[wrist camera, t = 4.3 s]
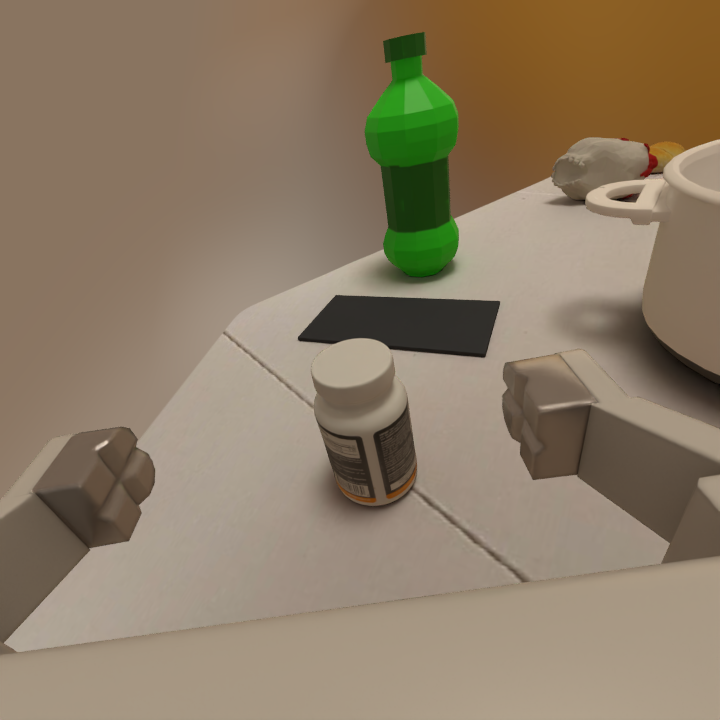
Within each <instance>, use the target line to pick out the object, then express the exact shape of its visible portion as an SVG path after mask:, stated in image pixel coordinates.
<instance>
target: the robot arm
mask: <svg viewBox="0 0 720 720" xmlns="http://www.w3.org/2000/svg"><path fill="white" fill-rule="evenodd" d="M503 380H504V382H505V383H506V385H507V387H508V389H507V390H506V391H505V393H504V394H503V395H502V408H503V413H504V419H505V423H506V425H507V428H508V431H509V433H510V435H511V437H512V438H513V439H514V440H516V441H518V442H519V443H521V446H520V455H521V457H522V459H523V461H524V463H525V465H526V467H527V469H528V471H529V473H530V475H531V477H532V479H533V480H537V479H545V478H553V477H561V476H569V475H577V474H578V475H577V477H579V478H580V479H581V480H583V481H584V482H586V483H587V484H588V485H590V486H591V487H592V488H594V489H595V490H597V491H598V492H599V493H601V494H602V495H604V496H605V497H606V498H608V499H609V500H611V501H612V502H613V503H615V504H616V505H618V506H619V507H620V508H622V509H623V510H625V511H626V512H627V513H629V514H630V515H631V516H633V517H634V518H636V519H637V520H638V521H640V522H641V523H643V524H644V525H645V526H647V527H648V528H650V529H651V530H652V531H654V532H655V533H657V534H658V535H659V536H661V537H662V538H664V539H665V540H666V541H668V542H669V543H670V545H669V547H668V549H667V552H666V554H665V556H664V559H663V561H662V563H661V564H656V565H649V566H642V567H635V568H627V569H620V570H613V571H605V572H598V573H591V574H584V575H576V576H569V577H562V578H555V579H547V580H540V581H533V582H525V583H518V584H511V585H504V586H496V587H489V588H482V589H475V590H467V591H460V592H453V593H446V594H438V595H431V596H424V597H416V598H409V599H402V600H395V601H387V602H380V603H373V604H366V605H358V606H351V607H344V608H337V609H329V610H322V611H315V612H308V613H300V614H293V615H286V616H279V617H271V618H264V619H257V620H250V621H243V622H235V623H228V624H221V625H214V626H206V627H199V628H192V629H185V630H178V631H170V632H163V633H156V634H149V635H141V636H134V637H127V638H119V639H112V640H105V641H98V642H90V643H83V644H76V645H68V646H61V647H54V648H47V649H39V650H32V651H25V652H16V651H15V650H13V649H12V648H10V647H9V646H7V645H5V644H4V642H5V641H6V640H7V639H8V638H9V637H10V636H11V635H12V633H13V632H14V631H15V630H16V629H17V628H18V627H19V626H20V625H21V624H22V623H23V622H24V621H25V620H26V618H27V617H28V616H29V615H30V614H31V613H32V612H33V611H34V610H35V609H36V608H37V607H38V606H39V604H40V603H41V602H42V601H43V600H44V599H45V598H46V597H47V596H48V595H49V594H50V593H51V592H52V591H53V589H54V588H55V587H56V586H57V585H58V584H59V583H60V582H61V581H62V580H63V579H64V578H65V577H66V576H67V574H68V573H69V572H70V571H71V570H72V569H73V568H74V567H75V566H76V565H77V564H78V563H79V562H80V560H81V559H82V558H83V557H84V556H85V555H86V554H87V553H88V552H89V551H90V549H89V548H93V547H99V546H104V545H110V544H115V543H121V542H126V541H129V540H130V538H131V535H132V533H133V531H134V529H135V527H136V524H137V522H138V520H139V518H140V516H141V513H142V512H141V509H140V507H139V504H141V503H142V502H143V501H144V500H145V499H146V498H147V497H148V496H149V495H150V493H151V491H152V488H153V486H154V483H155V468H154V465H153V461H152V460H151V458H150V457H149V455H148V453H146V452H144V451H142V450H140V449H138V448H137V447H136V445H137V440H138V439H137V437H136V436H135V435H134V433H133V432H132V431H131V429H130V428H126V427H116V428H110V429H102V430H95V431H89V432H81V433H78V434H70V435H64V436H58V437H56V438H53V439H51V440H49V441H48V442H47V444H46V445H45V446H44V448H43V449H42V450H41V451H40V452H39V454H38V455H37V456H36V457H35V458H34V460H33V461H32V462H31V463H30V465H29V466H28V467H27V468H26V470H25V471H24V472H23V473H22V475H21V476H20V477H19V478H18V480H17V481H16V482H15V483H14V484H13V486H12V487H11V488H10V490H9V491H8V492H7V493H6V494H5V496H4V497H3V498H2V499H0V720H720V428H717V427H715V426H712V425H709V424H707V423H704V422H702V421H699V420H697V419H694V418H692V417H689V416H686V415H684V414H681V413H679V412H676V411H674V410H671V409H668V408H666V407H663V406H661V405H658V404H656V403H653V402H650V401H648V400H645V399H643V398H640V397H633V398H630V397H629V396H628V395H627V394H626V393H625V392H624V391H623V390H622V389H621V388H620V387H619V386H618V385H617V384H616V383H615V382H614V381H613V379H612V378H611V377H610V376H609V375H608V374H607V373H606V372H605V371H604V370H603V369H602V368H601V367H600V366H599V365H598V364H597V363H596V361H595V360H594V359H593V358H592V357H591V356H590V355H589V354H588V353H587V352H586V351H585V350H582V349H575V350H570V351H565V352H560V353H555V354H554V355H548V356H542V357H536V358H530V359H524V360H518V361H513V362H507V363H505V365H504V369H503Z"/></svg>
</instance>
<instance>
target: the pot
mask: <svg viewBox="0 0 720 720" xmlns="http://www.w3.org/2000/svg"><path fill="white" fill-rule="evenodd" d="M663 178H664V179H648V180H631V181H622V182H616V183H610V184H607V185H603V186H600V187H598V188H597V189H594V190H592V191H591V192H589V193H588V194H587V196H586V200H585V205H586V206H587V207H586V208H587V209H588V210H590V211H592V212H594V213H597V214H600V215H604V216H610V217H618V218H630V219H631V221H632V223H633V224H634V225H649V224H650V222H651V221H654V222H660V223H659V227H658V231H657V235H656V239H655V243H654V247H653V251H652V255H651V259H650V263H649V267H648V271H647V275H646V279H645V283H644V287H643V297H642V312H643V315H644V317H645V320H646V323H647V325H648V326H649V327H650V329H651V331H652V333H653V335H654V336H655V337H656V338H657V340H658V341H659V342H660V343H661V345H662V346H663V347H664V348H665V349H666V350H668V351H669V352H670V353H671V354H672V355H674V356H675V357H676V358H677V359H679V360H680V361H681V362H682V363H684V364H685V365H686V366H688V367H689V368H691V369H692V370H694V371H696V372H698V373H699V374H701V375H703V376H704V377H706V378H708V379H709V380H711V381H713V382H715V383H717V384H719V385H720V140H716V141H712V142H709V143H706V144H703V145H700V146H697V147H694V148H692V149H689V150H687V151H685V152H683V153H681V154H679V155H677V156H675V157H674V158H673V159H672V160H671V161H670V162H669V163H668V164H667V165H666V166H665V167H664V171H663ZM634 193H641V194H640V196H639V197H638V199H637V201H636V203H631V202H620V201H615V200H611V199H609V198H612V197H615V196H619V195H625V194H634Z"/></svg>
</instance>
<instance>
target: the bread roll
mask: <svg viewBox="0 0 720 720" xmlns="http://www.w3.org/2000/svg"><path fill="white" fill-rule="evenodd" d="M649 148H650V152H649V153H650V154H652V155H654V156H656V157H657V160H658V165H657V167H656V168H654V169H653V170H652V172H651V173H662V172H663V171H664V167H665V166H666V165H667V164H668V163H669V162H670V161H671V160H672V159H673V158H674V157H675V156H677V155H679V154H681V153H683V152H685V149H684V148H683V147H682V146H681V145H680V144H677V143H673V142H660V143H656V144H654V145H652V146H650V147H649Z"/></svg>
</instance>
